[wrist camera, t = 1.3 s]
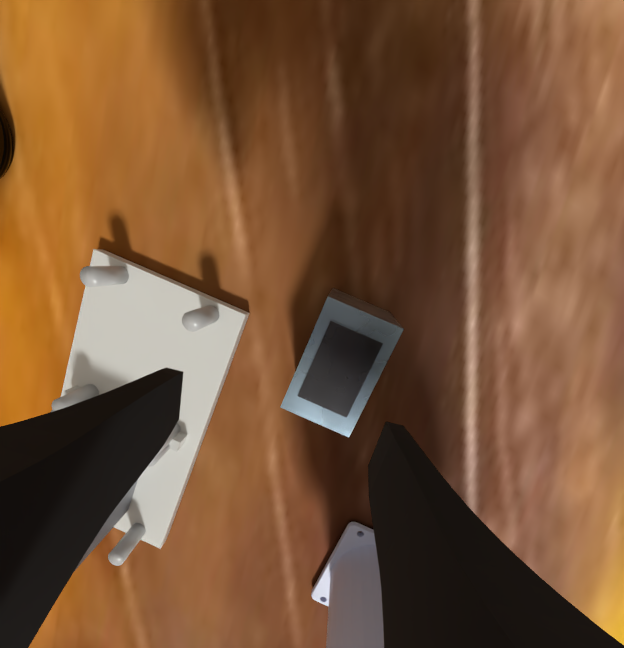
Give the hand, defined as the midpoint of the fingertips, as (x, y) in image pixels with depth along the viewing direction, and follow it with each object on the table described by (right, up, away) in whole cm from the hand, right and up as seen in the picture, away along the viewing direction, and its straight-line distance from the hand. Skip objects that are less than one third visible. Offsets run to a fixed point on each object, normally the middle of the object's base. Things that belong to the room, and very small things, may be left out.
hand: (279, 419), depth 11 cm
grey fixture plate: (-12, -3, +13) cm, 18 cm away
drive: (+3, +2, +10) cm, 10 cm away
